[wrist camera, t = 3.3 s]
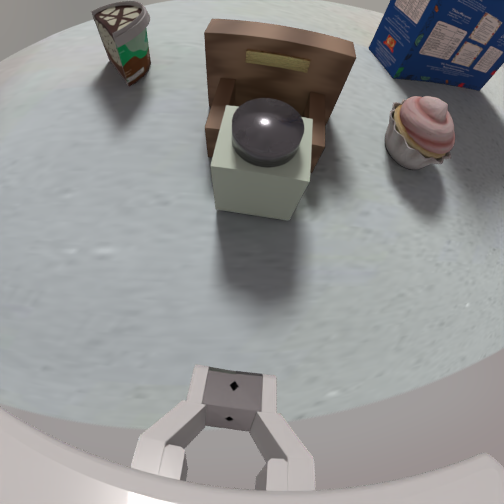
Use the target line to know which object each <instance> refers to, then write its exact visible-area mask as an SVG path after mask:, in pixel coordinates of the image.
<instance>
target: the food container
mask: <svg viewBox="0 0 504 504" xmlns="http://www.w3.org/2000/svg"><path fill="white" fill-rule="evenodd" d="M92 15H93V19H94V21H95V23H96V26H97V29H98V31H99V34H100V37H101V40H102V42H103V45H104V48H105V50H106V53H107V55H108V58H109V60H110V62H111V63H112V65H113V66H114V67H115V69H116V70H117V71H118V73H119V74H120V75H121V77H122V78H123V79H124V81H125V82H126V83H127V85H128V86H131V85H133V84H134V83H136V82H137V81H138V80H140V79H141V78H142V77H143V76H144V75H145V74H146V73H147V71H148V70H149V68H150V64H151V61H150V54H149V46H148V38H147V30H146V27H147V26H148V24H149V22H150V16H149V14H148V12H147V10H146V8H145V7H144V6H143V5H142V4H141V3H139V2H136V1H122V2H116V3H112V4H109V5H106V6H103V7H100V8H98V9H96V10H93V11H92Z"/></svg>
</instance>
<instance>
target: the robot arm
mask: <svg viewBox="0 0 504 504" xmlns="http://www.w3.org/2000/svg"><path fill="white" fill-rule="evenodd" d="M205 426H211V427H219V428H227V429H234V430H241V431H249V433H250V435H251V437H252V438H253V440H254V442H255V444H256V445H257V447H258V449H259V451H260V453H261V454H262V456H263V458H264V460H265V461H266V465H265V466H264V467H263V469H262V470H261V471H260V473H259V474H258V475H257V477H256V485H255V490H248V489H236V488H227V487H219V486H211V485H205V484H198V483H192V482H187V481H186V477H187V470H188V467H187V461H186V454H185V451H184V448H185V447H186V446H187V445H188V444H189V443H190V442H191V441H192V440H193V439H194V438H195V437H196V436H197V435H198V434H199V433H200V432H201V431H202V430H203V429H204V428H205ZM0 504H504V468H503V466H502V465H501V464H500V463H499V462H498V461H497V460H495V459H494V458H493V457H492V456H490V455H489V454H488V453H481V454H478V455H476V456H473V457H471V458H468V459H465V460H462V461H460V462H457V463H454V464H451V465H448V466H445V467H442V468H439V469H436V470H432V471H429V472H425V473H422V474H418V475H414V476H410V477H406V478H402V479H397V480H392V481H388V482H382V483H377V484H370V485H364V486H357V487H349V488H339V489H328V490H315V469H314V458H313V457H312V455H311V454H310V453H309V451H308V450H307V449H306V447H305V446H304V445H303V444H302V442H301V441H300V439H299V438H298V437H297V435H296V434H295V433H294V431H293V430H292V428H291V427H290V426H289V424H288V423H287V422H286V420H285V419H284V417H283V416H282V415H281V413H277V378H276V376H275V375H265V374H259V373H250V372H241V371H231V370H225V369H219V368H213V367H208V366H202V365H197V364H196V365H195V367H194V370H193V374H192V379H191V383H190V387H189V392H188V396H187V400H186V401H184V400H182V401H181V402H180V403H179V404H178V405H176V406H175V407H174V408H173V409H172V410H170V411H169V412H168V413H167V414H166V415H164V416H163V417H162V418H161V419H160V420H158V421H157V422H156V423H155V424H153V425H152V426H151V427H150V428H149V429H147V430H146V431H145V432H144V433H142V434H141V435H140V436H139V439H138V443H137V446H136V450H135V454H134V457H133V460H132V464H131V467H128V466H124V465H121V464H118V463H115V462H112V461H110V460H107V459H104V458H101V457H99V456H96V455H93V454H91V453H88V452H86V451H84V450H81V449H79V448H77V447H74V446H72V445H70V444H68V443H65V442H63V441H61V440H59V439H57V438H55V437H53V436H51V435H49V434H47V433H45V432H43V431H41V430H39V429H38V428H36V427H34V426H32V425H30V424H29V423H27V422H25V421H23V420H21V419H20V418H18V417H17V416H15V415H13V414H12V413H10V412H8V411H7V410H5V409H4V408H2V407H1V406H0Z"/></svg>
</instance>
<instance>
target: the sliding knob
mask: <svg viewBox="0 0 504 504" xmlns="http://www.w3.org/2000/svg"><path fill="white" fill-rule="evenodd" d="M312 126H313V119H309V118H305V117H301V116H300V114H299V113H298V112H297V111H296V110H295V109H294V108H293V107H292V106H290V105H289V104H287V103H285V102H282V101H280V100H276V99H271V98H258V99H253V100H250V101H247V102H245V103H243V104H242V105H241V106H239V107H238V106H229V105H226V108H225V112H224V115H223V119H222V123H221V127H220V130H219V134H218V138H217V142H216V146H215V150H214V154H213V158H212V162H211V175H212V183H213V192H214V200H215V208H216V210H222V211H229V212H236V213H242V214H249V215H255V216H262V217H268V218H274V219H280V220H286V221H289V220H290V218H291V216H292V214H293V212H294V210H295V209H296V207H297V205H298V203H299V201H300V199H301V197H302V195H303V194H304V192H305V190H306V188H307V186H308V184H309V182H310V169H311V150H312Z"/></svg>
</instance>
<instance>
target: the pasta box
mask: <svg viewBox="0 0 504 504" xmlns="http://www.w3.org/2000/svg"><path fill="white" fill-rule="evenodd" d="M369 50H370V51H371V52H372V53H373V54H374V55H375V57H376V58H377V59H378V60H379V61H380V63H381V64H382V65H383V66H384V68H385V69H386V70H387V71H388V73H389V74H390V75H391V77H392V78H394V79H407V80H417V81H425V82H433V83H440V84H447V85H453V86H458V87H464V88H469V89H474V90H478V91H480V89H481V88H482V87H483V86H484V85H485V84H486V83H487V82H488V80H489V79H490V78H491V77H492V76H493V75H494V74H495V72H496V71H497V70H498V69H499V68H500V67H501V65H502V64H503V63H504V0H390V3H389V5H388V7H387V9H386V12H385V14H384V16H383V18H382V20H381V23H380V25H379V27H378V29H377V31H376V33H375V36H374V38H373V40H372V42H371V44H370V46H369Z"/></svg>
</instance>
